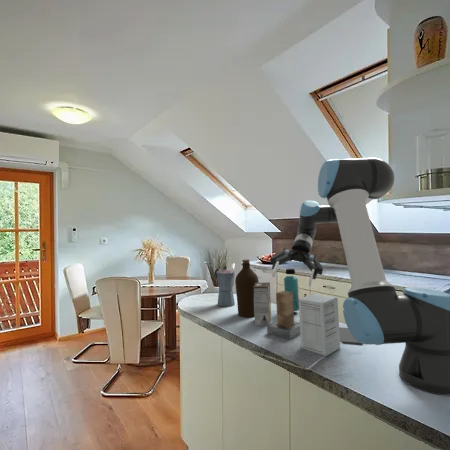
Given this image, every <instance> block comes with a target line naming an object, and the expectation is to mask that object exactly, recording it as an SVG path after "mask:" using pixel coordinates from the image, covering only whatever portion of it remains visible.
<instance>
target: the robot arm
mask: <svg viewBox="0 0 450 450" xmlns="http://www.w3.org/2000/svg"><path fill="white" fill-rule="evenodd" d="M318 173H319V174H318V179H317V192H318V196H320V198H323V199H326V198H327V204H328V205H320V204H319V202H317V201H315V200H305V201H303V202H302V203H301V205H300V211H299V220H298V221H299V222H298V227H297V233H296V236H295V238H294V240H293V244H292V247H291V248H290V249H287V247H282V250H280V251H279V252H277V253H275V254H274V255H272V256H271V257H270V258H269V259H270V260H269V262H270V264H271V269H272V277H273V278H275V276H276V275H277V274H276V273H277V272H278V269H279V265H281V264H284V263H287V262H292V261H294V262H298V263H302V264H303V265H304V266H305V265H306V267H307V268H308V269H309V270H310V271H311V273H310V276H309V282H308V287H311V286H312V282H313V280H316V279H317V275H320V276H322V275H323V272H324V269H323V267H322V264H321V263H320V261H319V258H318V254H316V253H315V254H311V251H312V247H313V242H314V239H315V236H317V235H316V234H317V225H318V224H319V225H320V224H336V223H337V225H338V229H339V234H340V238H341V242H342V246H343V251H344V255H345V260H346V264H347V269H348V275H349V278H350V282H351V287H350V288H349V290H348V291H347V296H348V297H347V298H345V299H344V301H343V304H342V308H343V310H342V313H343V319H344V322H345V325H346V328H348V329H349V331H350V333H351V334H352V336H353V337H354V338H355V339H356V340H357V341H358V342H360V343H362V344H363V345H376V346H382V345H386V344H387V345H388V344H390V345H391V344H402V343H403V344H404V343H405V347H404V350H403V353H402V355H401V358H400V361H399V363H398V374H399V375H398V376H399V377H400V378H401V380H402V381H404V383H406V384H407V385H409V386H411V387H414V388H415V389H419V390H421V391H423V392H427V393H431V394H435V395H436V394H437V395H442V396H450V293H448V292H444V291H440V290H437V289H436V290H435V289H430V288H424V287H417V286H416V287H415V286H412V287H411V286H407V287H404V288H403V291H402V294H397V291H396V287H395V285H394V284H392V283H390V282H388V281H387V279H386V275H385V271H384V267H383V263H382V261H381V255H380V254H379V253H380V252H379V249H378V245H377V242H376V238H375V234H374V230H373V227H372V223H371V220H370V215H369V212H368V208H367V204H369V203H371V201H373V200H378V199H381V198H382V197H384V196H385V195H386V194H388V193H389V192H390V191H391V190H392V189H393V186H394V183H395V173H394V169H393V168H392V167H391V166H390V164H389V163H387V162H386V161H385V160H383V159H381V158H377V157H360V158H358V157H357V158H341V159H340V158H335V159H328V160H326V161H324V162H323V163H322V165H321V167H320V170H319V172H318Z"/></svg>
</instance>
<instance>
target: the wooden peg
mask: <svg viewBox="0 0 450 450" xmlns="http://www.w3.org/2000/svg"><path fill="white" fill-rule="evenodd" d="M275 294H276V295H275V297H276V321H277V324H278V326H281V327H286V328H289V327H291V326H293V325H294V321H295V319H294V318H295V317H294V316H295V315H294V312H295V311H293V292H288V291H285V290H280V291H278V292H276V293H275Z"/></svg>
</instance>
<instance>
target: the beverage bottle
mask: <svg viewBox="0 0 450 450" xmlns="http://www.w3.org/2000/svg"><path fill="white" fill-rule="evenodd" d="M285 274H286V276H285V277H283V282H284V283H283V284H284V285H283V286H284V287H283V288H284V291H288V292H293V311H294V312H299V299H300V298H299V283H298V281H299V280H298V279H299V278H298V277H297V276H295V274H296V271H295V268H286V269H285Z"/></svg>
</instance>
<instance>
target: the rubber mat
mask: <svg viewBox="0 0 450 450" xmlns="http://www.w3.org/2000/svg"><path fill="white" fill-rule="evenodd" d="M339 335H340V343H341V344H349V345H360V344H361V345H364V344H362V343H360V342H358V341H357V340H356V339H355V338H354V337H353V336H352V334H351V333H350V331H349V329H348V327H341V326H339Z"/></svg>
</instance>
